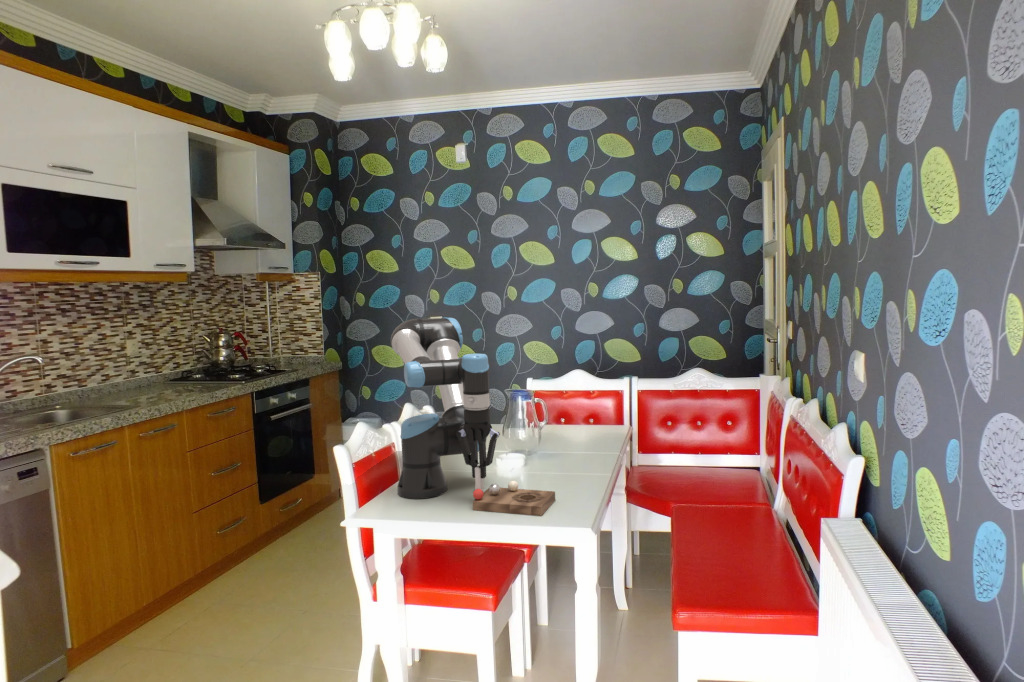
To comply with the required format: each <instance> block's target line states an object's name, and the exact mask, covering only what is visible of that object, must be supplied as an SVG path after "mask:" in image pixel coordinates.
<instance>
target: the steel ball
mask: <svg viewBox="0 0 1024 682" xmlns="http://www.w3.org/2000/svg"><path fill="white" fill-rule="evenodd" d="M488 488H489V492H490V493H491V494H492V495H497V494H498V493H499V492H500V488H501V487H500V486H499V484H497V483H491V485H489V487H488Z"/></svg>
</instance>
